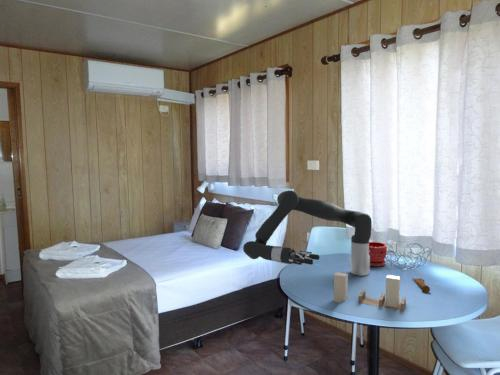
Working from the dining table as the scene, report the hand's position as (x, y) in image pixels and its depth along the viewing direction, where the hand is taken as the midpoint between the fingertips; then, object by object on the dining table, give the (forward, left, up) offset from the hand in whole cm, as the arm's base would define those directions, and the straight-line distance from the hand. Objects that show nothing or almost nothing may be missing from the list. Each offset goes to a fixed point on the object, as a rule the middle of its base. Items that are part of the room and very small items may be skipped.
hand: (316, 259), depth 161 cm
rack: (-17, +23, -17) cm, 33 cm away
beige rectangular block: (-6, +10, -17) cm, 20 cm away
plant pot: (-62, -19, -17) cm, 67 cm away
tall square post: (-19, +26, -16) cm, 36 cm away
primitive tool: (-53, +16, -18) cm, 58 cm away
